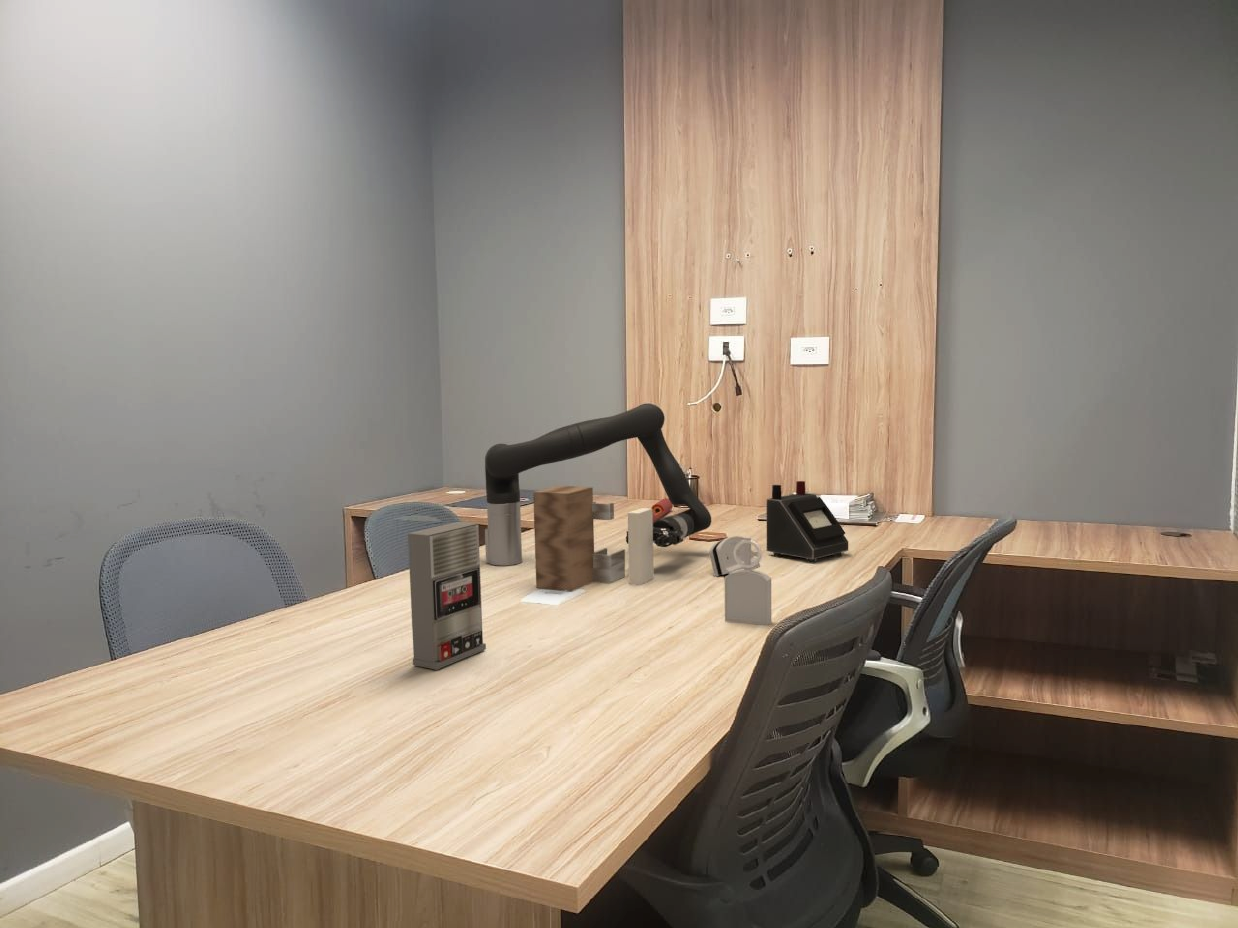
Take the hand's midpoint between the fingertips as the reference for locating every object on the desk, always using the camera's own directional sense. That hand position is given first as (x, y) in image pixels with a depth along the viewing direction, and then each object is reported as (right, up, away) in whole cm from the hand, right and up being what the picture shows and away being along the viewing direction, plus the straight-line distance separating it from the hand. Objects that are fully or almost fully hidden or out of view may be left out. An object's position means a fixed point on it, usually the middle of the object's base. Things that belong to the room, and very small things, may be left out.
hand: (643, 541), depth 237 cm
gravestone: (+21, -14, -39) cm, 46 cm away
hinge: (+24, -9, +9) cm, 27 cm away
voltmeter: (+47, -7, +26) cm, 54 cm away
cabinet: (-16, -10, 0) cm, 19 cm away
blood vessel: (+6, -1, +91) cm, 91 cm away
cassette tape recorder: (-38, -18, -60) cm, 73 cm away
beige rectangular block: (0, -10, 0) cm, 10 cm away
